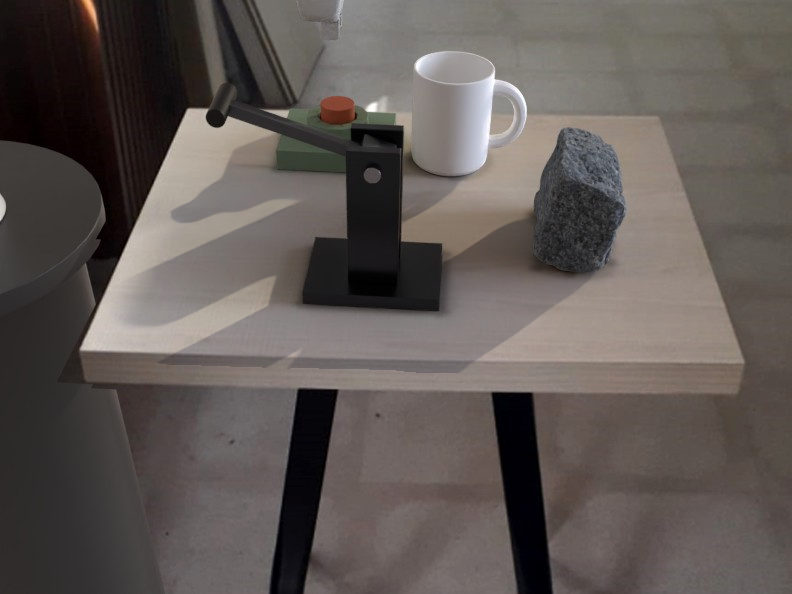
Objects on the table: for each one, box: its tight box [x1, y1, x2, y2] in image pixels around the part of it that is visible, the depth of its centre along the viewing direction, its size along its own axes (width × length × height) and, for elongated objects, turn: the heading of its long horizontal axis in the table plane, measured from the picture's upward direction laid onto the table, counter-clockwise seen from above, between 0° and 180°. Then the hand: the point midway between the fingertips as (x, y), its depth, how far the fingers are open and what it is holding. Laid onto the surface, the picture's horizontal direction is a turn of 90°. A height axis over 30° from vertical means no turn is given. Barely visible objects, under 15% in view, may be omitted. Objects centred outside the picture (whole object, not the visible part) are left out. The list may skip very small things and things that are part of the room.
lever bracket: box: [301, 123, 444, 312], centre depth 82 cm, size 12×9×14 cm
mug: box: [410, 50, 528, 177], centre depth 100 cm, size 12×8×10 cm
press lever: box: [205, 82, 397, 156], centre depth 78 cm, size 15×5×2 cm, turn 86°
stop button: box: [319, 95, 355, 125], centre depth 102 cm, size 4×4×2 cm
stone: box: [532, 126, 628, 273], centre depth 89 cm, size 12×8×10 cm, turn 0°
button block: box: [275, 104, 397, 173], centre depth 104 cm, size 12×10×4 cm
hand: (331, 34), depth 96 cm, fingers closed
